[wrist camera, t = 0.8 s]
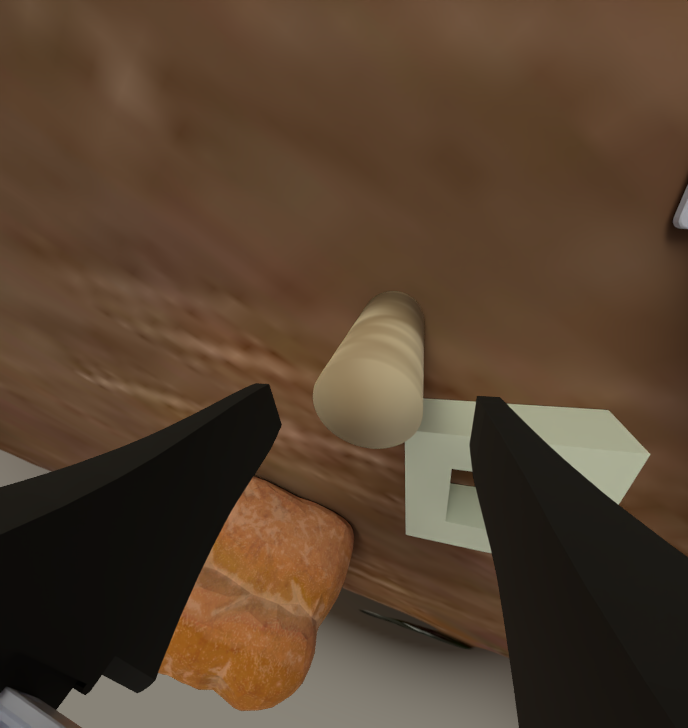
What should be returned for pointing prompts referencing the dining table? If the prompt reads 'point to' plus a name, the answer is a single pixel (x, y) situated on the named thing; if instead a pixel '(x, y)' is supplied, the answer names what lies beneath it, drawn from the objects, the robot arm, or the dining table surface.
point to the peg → (376, 376)
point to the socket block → (451, 451)
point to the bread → (261, 599)
